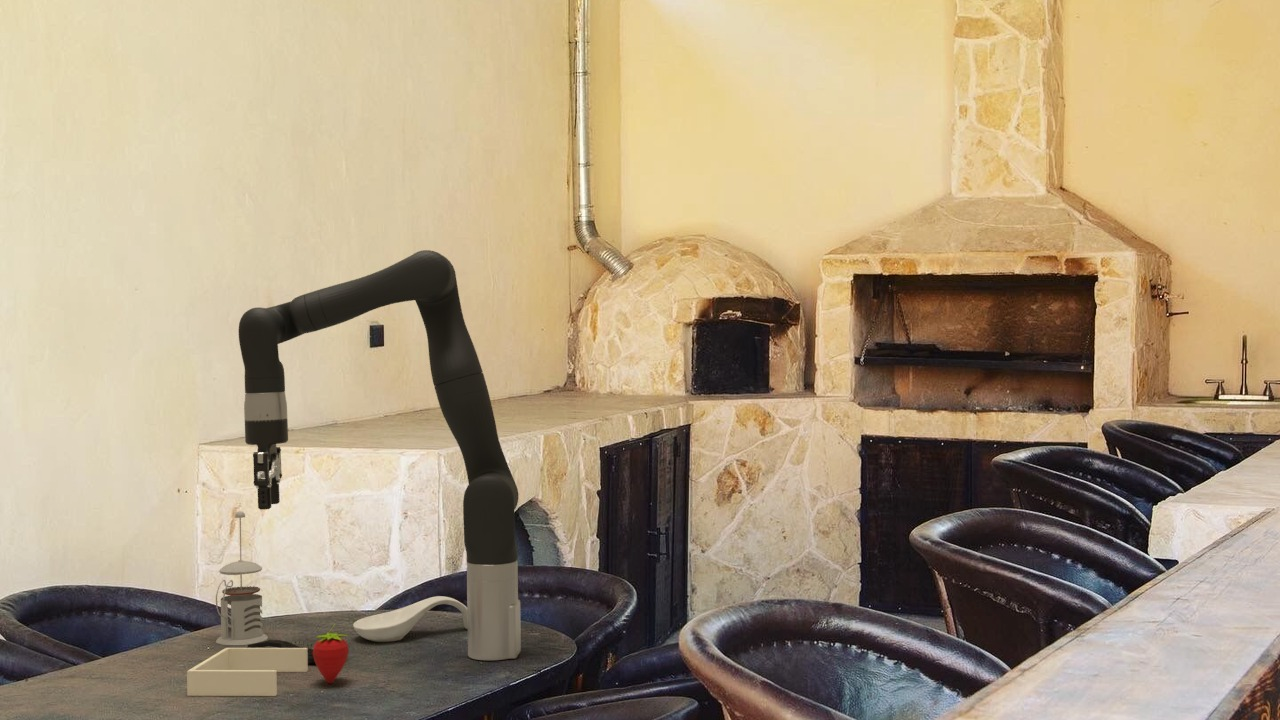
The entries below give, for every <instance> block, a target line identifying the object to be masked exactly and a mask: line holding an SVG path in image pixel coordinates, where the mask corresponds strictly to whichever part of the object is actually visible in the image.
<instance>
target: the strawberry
mask: <svg viewBox="0 0 1280 720" xmlns="http://www.w3.org/2000/svg"><path fill="white" fill-rule="evenodd" d="M335 625H336V623H333V626H332V627H331V628H330V630H329V631H328V632H326V634H319V635H317V636H315V639H319V640H317V641H316V642H315V644H314V645H313V648H312V649H313V657H314V661H315V662H314V663H315V665H316V668H317V669H318V671H319V673H320V675H322V677H323V678H324V679H325V681H326V682H327V683H328V684H333V683H334V682H335V680H336V678H337V677H338V675H339V674H340V673H341V671H342V670H343V667H344V666H345V664H346V662H347V659H348V656H349V651H350V650H349V646H348V645H349V644H348V643H347V641H346V640H345V639H344V638H346V637H349V634H348V635H347V634H341V633H339V634H338V632H337V633H336V632H335V633H331V631H332V629H333V628H334V626H335Z"/></svg>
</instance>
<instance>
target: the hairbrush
mask: <svg viewBox="0 0 1280 720" xmlns="http://www.w3.org/2000/svg"><path fill="white" fill-rule="evenodd" d="M294 643H295V644H294ZM294 643H292V642H289V641H286V640H281V639H266V640H265V641H262V642H258V643H253V644H247V647H246V648H268V647H269V648H308V664H311V663H315V661H314V657H313V648H312V647H313V644H310V645H309V643H307V644H306V645H307V646H305V647H304V644H305V643H303V644H302V646H299V645H296V644H297V641H294ZM298 644H300V641H299V643H298Z"/></svg>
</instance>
